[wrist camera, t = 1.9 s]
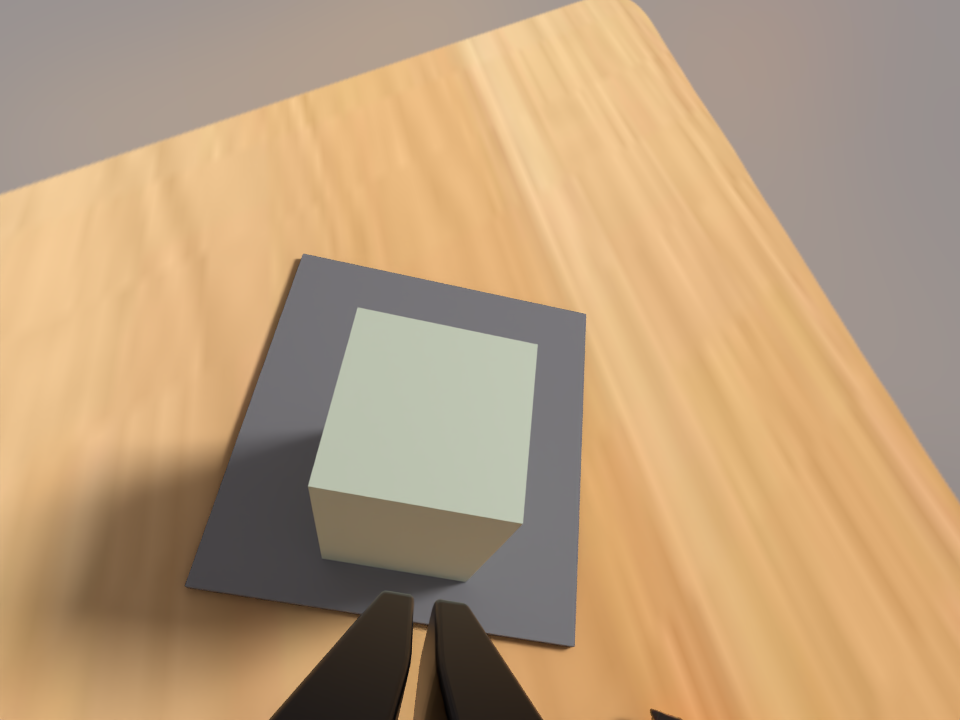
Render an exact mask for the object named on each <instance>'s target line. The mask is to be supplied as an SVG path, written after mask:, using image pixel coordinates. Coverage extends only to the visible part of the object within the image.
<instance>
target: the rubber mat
mask: <svg viewBox="0 0 960 720" xmlns="http://www.w3.org/2000/svg"><path fill="white" fill-rule="evenodd" d="M358 307H359V308H363V309H368V310H373V311H378V312H383V313H388V314H392V315H397V316H402V317H407V318H412V319H417V320H422V321H426V322H431V323H436V324H441V325H446V326H451V327H455V328H460V329H465V330H470V331H475V332H480V333H484V334H489V335H494V336H499V337H504V338H509V339H513V340H518V341H523V342H528V343H533V344H538V348H537V360H536V372H535V384H534V396H533V408H532V420H531V433H530V445H529V457H528V469H527V481H526V493H525V505H524V517H523V524H522V525H521V526H520V527H519V528H518V529H517V530H516V531H515V532H514V533H513V534H512V536H511V537H510V538H509V539H508V540H507V541H506V542H505V543H504V544H503V545H502V546H501V547H500V548H499V549H498V550H497V551H496V552H495V553H494V554H493V555H492V556H491V557H490V558H489V559H488V560H487V561H486V562H485V563H484V564H483V565H482V566H481V567H480V568H479V569H478V570H477V571H476V572H475V573H474V574H473V575H472V576H471V577H470V578H469V579H468V581H467V582H462V581H456V580H450V579H444V578H438V577H432V576H426V575H419V574H413V573H407V572H401V571H395V570H389V569H383V568H377V567H370V566H364V565H358V564H352V563H346V562H340V561H334V560H328V559H322V556H321V551H320V546H319V541H318V536H317V530H316V525H315V520H314V515H313V510H312V505H311V500H310V494H309V489H308V484H309V481H310V477H311V473H312V470H313V466H314V463H315V459H316V455H317V452H318V448H319V445H320V441H321V437H322V434H323V430H324V427H325V423H326V419H327V416H328V412H329V409H330V405H331V401H332V398H333V394H334V391H335V387H336V383H337V380H338V376H339V373H340V369H341V365H342V362H343V358H344V355H345V351H346V347H347V344H348V340H349V337H350V333H351V329H352V326H353V322H354V319H355V315H356V311H357V308H358ZM585 331H586V314H583V313H579V312H574V311H569V310H565V309H560V308H555V307H550V306H546V305H541V304H536V303H532V302H527V301H522V300H518V299H513V298H508V297H504V296H499V295H494V294H490V293H485V292H480V291H476V290H471V289H466V288H462V287H457V286H452V285H448V284H443V283H438V282H434V281H429V280H424V279H420V278H415V277H410V276H405V275H401V274H396V273H391V272H387V271H382V270H377V269H373V268H368V267H363V266H359V265H354V264H349V263H345V262H340V261H335V260H331V259H326V258H321V257H317V256H312V255H307V254H303V256H302V258H301V261H300V264H299V267H298V270H297V272H296V275H295V278H294V281H293V284H292V286H291V289H290V292H289V295H288V298H287V300H286V303H285V306H284V309H283V312H282V314H281V317H280V320H279V323H278V326H277V329H276V331H275V334H274V337H273V340H272V343H271V345H270V348H269V351H268V354H267V357H266V359H265V362H264V365H263V368H262V371H261V373H260V376H259V379H258V382H257V385H256V387H255V390H254V393H253V396H252V399H251V401H250V404H249V407H248V410H247V413H246V415H245V418H244V421H243V424H242V427H241V430H240V432H239V435H238V438H237V441H236V444H235V446H234V449H233V452H232V455H231V458H230V460H229V463H228V466H227V469H226V472H225V474H224V477H223V480H222V483H221V486H220V488H219V491H218V494H217V497H216V500H215V502H214V505H213V508H212V511H211V514H210V516H209V519H208V522H207V525H206V528H205V530H204V533H203V536H202V539H201V542H200V545H199V547H198V550H197V553H196V556H195V559H194V561H193V564H192V567H191V570H190V573H189V575H188V578H187V581H186V584H185V587H187V588H193V589H199V590H206V591H212V592H219V593H225V594H232V595H238V596H245V597H251V598H258V599H264V600H271V601H277V602H283V603H290V604H296V605H303V606H309V607H316V608H322V609H329V610H335V611H342V612H348V613H355V614H362V613H363V612H364V611H365V610H366V609H367V608H368V606H369V605H370V604H371V603H372V602H373V601H374V600H375V598H376V597H377V596H378V595H379V594H380V593H381V592H383V591H392V592H399V593H405V594H410V595H411V596H413V598H414V615H413V623H419V624H426V625H429V620H430V616H431V612H432V608H433V605H434V603H435V602H436V600H438V599H442V600H448V601H455V602H461V603H465V604H466V605H468V606H469V608H470V609H471V611H472V612H473V614H474V615H475V617H476V618H477V620H478V621H479V623H480V624H481V626H482V628H483V629H484V631H485V632H486V634H490V635H497V636H503V637H510V638H516V639H523V640H529V641H535V642H542V643H548V644H555V645H561V646H568V647H574V646H575V621H576V592H577V563H578V534H579V505H580V476H581V447H582V418H583V389H584V360H585Z"/></svg>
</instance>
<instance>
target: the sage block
mask: <svg viewBox="0 0 960 720" xmlns="http://www.w3.org/2000/svg"><path fill="white" fill-rule="evenodd" d="M537 348H538V344H533V343H528V342H523V341H518V340H513V339H509V338H504V337H499V336H494V335H489V334H484V333H480V332H475V331H470V330H465V329H460V328H455V327H451V326H446V325H441V324H436V323H431V322H426V321H422V320H417V319H412V318H407V317H402V316H397V315H392V314H388V313H383V312H378V311H373V310H368V309H363V308H359V307H358V308H357V311H356V315H355V319H354V322H353V326H352V329H351V333H350V337H349V340H348V344H347V347H346V351H345V355H344V358H343V362H342V365H341V369H340V373H339V376H338V380H337V383H336V387H335V391H334V394H333V398H332V401H331V405H330V409H329V412H328V416H327V419H326V423H325V427H324V430H323V434H322V437H321V441H320V445H319V448H318V452H317V455H316V459H315V463H314V466H313V470H312V473H311V477H310V481H309V484H308V489H309V494H310V500H311V505H312V510H313V515H314V520H315V525H316V530H317V536H318V541H319V546H320V551H321V556H322V559H328V560H334V561H340V562H346V563H352V564H358V565H364V566H370V567H377V568H383V569H389V570H395V571H401V572H407V573H413V574H419V575H426V576H432V577H438V578H444V579H450V580H456V581H462V582H467V581H468V579H469V578H470V577H471V576H472V575H473V574H474V573H475V572H476V571H477V570H478V569H479V568H480V567H481V566H482V565H483V564H484V563H485V562H486V561H487V560H488V559H489V558H490V557H491V556H492V555H493V554H494V553H495V552H496V551H497V550H498V549H499V548H500V547H501V546H502V545H503V544H504V543H505V542H506V541H507V540H508V539H509V538H510V537H511V536H512V534H513V533H514V532H515V531H516V530H517V529H518V528H519V527H520V526H521V525H522V524H523V517H524V505H525V493H526V481H527V469H528V457H529V445H530V433H531V420H532V408H533V396H534V384H535V372H536V360H537Z"/></svg>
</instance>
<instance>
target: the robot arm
mask: <svg viewBox="0 0 960 720" xmlns="http://www.w3.org/2000/svg"><path fill="white" fill-rule="evenodd" d="M413 615H414V598H413V596H411V595H410V594H405V593H399V592H392V591H383V592H381V593H380V594H379V595H378V596H377V597H376V598H375V600H374V601H373V602H372V603H371V604H370V605H369V606H368V608H367V609H366V610H365V611H364V612H363V613H362V614H361V616H360V617H359V618H358V619H357V620H356V621H355V622H354V623H353V625H352V626H351V627H350V628H349V629H348V630H347V631H346V633H345V634H344V635H343V636H342V637H341V638H340V639H339V641H338V642H337V643H336V644H335V645H334V646H333V647H332V649H331V650H330V651H329V652H328V653H327V654H326V655H325V657H324V658H323V659H322V660H321V661H320V662H319V663H318V665H317V666H316V667H315V668H314V669H313V670H312V671H311V672H310V674H309V675H308V676H307V677H306V678H305V679H304V680H303V682H302V683H301V684H300V685H299V686H298V687H297V688H296V690H295V691H294V692H293V693H292V694H291V695H290V696H289V698H288V699H287V700H286V701H285V702H284V703H283V704H282V706H281V707H280V708H279V709H278V710H277V711H276V712H275V714H274V715H273V716H272V717H271V718H270V719H269V720H398V717H399V712H400V708H401V703H402V699H403V695H404V690H405V686H406V682H407V677H408V673H409V668H410V663H411V654H412V635H413ZM413 720H543V719H542V717H541V716H540V714H539V713H538V711H537V710H536V708H535V707H534V705H533V704H532V702H531V701H530V699H529V698H528V696H527V695H526V693H525V691H524V690H523V688H522V687H521V685H520V684H519V682H518V681H517V679H516V678H515V676H514V675H513V673H512V672H511V670H510V669H509V667H508V666H507V664H506V663H505V661H504V660H503V658H502V656H501V655H500V653H499V652H498V650H497V649H496V647H495V646H494V644H493V643H492V641H491V640H490V638H489V637H488V635H487V634H486V632H485V631H484V629H483V628H482V626H481V624H480V623H479V621H478V620H477V618H476V617H475V615H474V614H473V612H472V611H471V609H470V608H469V606H468V605H466V604H465V603H461V602H455V601H448V600H442V599H438V600H436V602H435V603H434V605H433V608H432V612H431V616H430V620H429V625H428V629H427V633H426V638H425V642H424V646H423V650H422V655H421V660H420V666H419V674H418V683H417V691H416V700H415V709H414V717H413Z"/></svg>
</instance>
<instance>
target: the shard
mask: <svg viewBox="0 0 960 720" xmlns="http://www.w3.org/2000/svg"><path fill="white" fill-rule="evenodd" d="M650 713H651V716H652V720H683V719H681V718H679V717H675V716H672V715H669V714H666V713H664V712H662V711H658V710H654V709H650Z"/></svg>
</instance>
